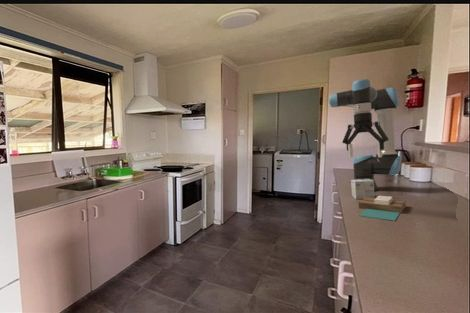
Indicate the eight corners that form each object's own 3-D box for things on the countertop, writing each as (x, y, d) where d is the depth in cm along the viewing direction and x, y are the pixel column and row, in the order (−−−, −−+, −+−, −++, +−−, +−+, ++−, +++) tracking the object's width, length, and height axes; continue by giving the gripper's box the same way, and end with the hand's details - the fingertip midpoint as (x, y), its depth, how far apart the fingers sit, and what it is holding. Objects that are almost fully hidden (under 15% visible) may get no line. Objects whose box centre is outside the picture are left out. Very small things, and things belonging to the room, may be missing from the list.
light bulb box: (369, 195, 141) (368, 178, 140) (375, 198, 134) (374, 180, 134) (351, 196, 142) (350, 179, 141) (356, 199, 135) (354, 181, 135)
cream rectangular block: (378, 199, 122) (378, 195, 122) (392, 200, 117) (392, 196, 117) (374, 203, 115) (374, 199, 115) (388, 205, 111) (388, 201, 111)
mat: (366, 209, 117) (366, 208, 117) (399, 213, 107) (399, 212, 107) (358, 215, 108) (358, 215, 108) (394, 221, 99) (394, 220, 99)
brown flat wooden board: (365, 202, 128) (365, 197, 128) (405, 206, 116) (405, 200, 115) (358, 208, 120) (358, 202, 119) (401, 213, 107) (401, 207, 107)
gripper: (333, 116, 119) (336, 157, 120) (388, 108, 99) (390, 157, 100) (341, 116, 123) (343, 156, 125) (395, 108, 103) (397, 156, 105)
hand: (364, 157), depth 112 cm, fingers open, 13 cm apart
